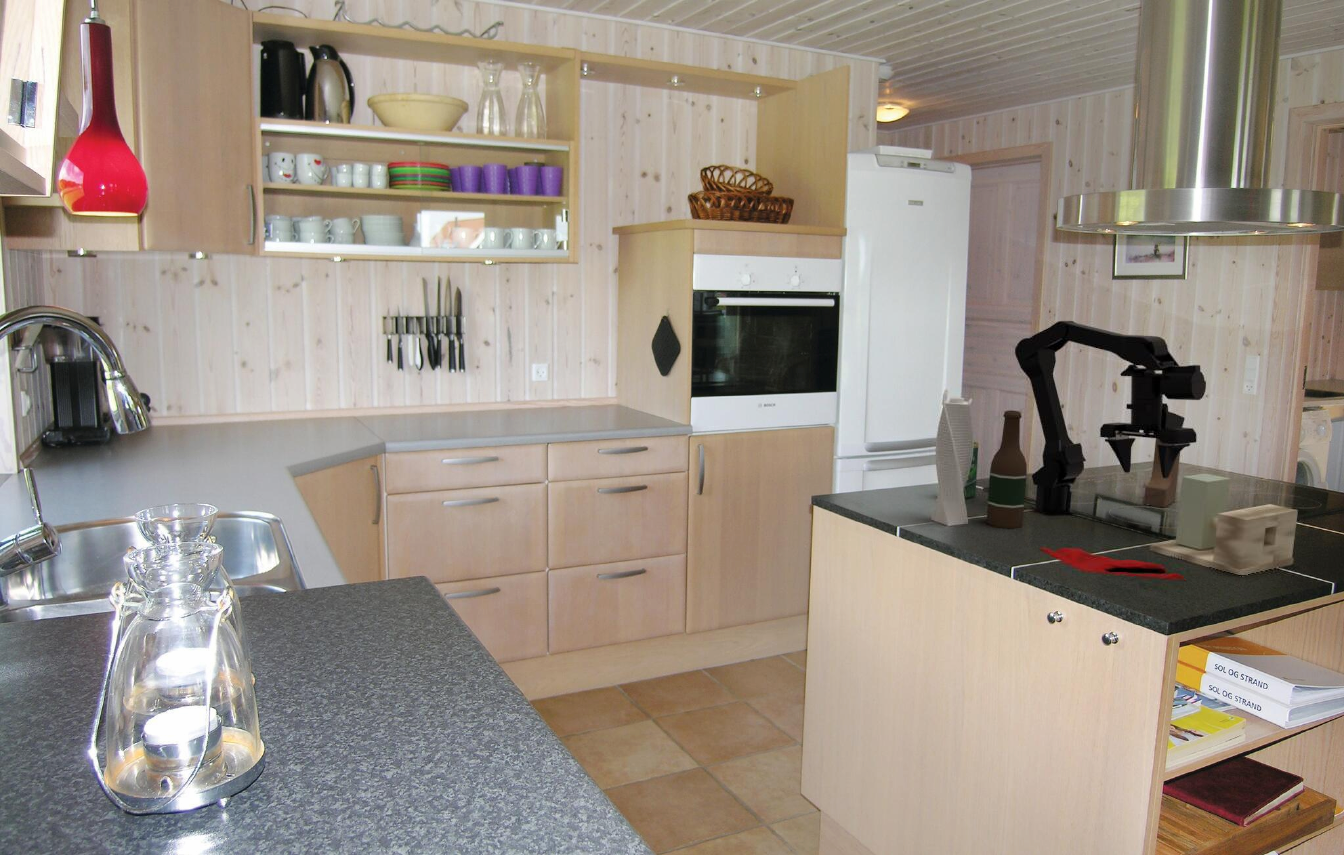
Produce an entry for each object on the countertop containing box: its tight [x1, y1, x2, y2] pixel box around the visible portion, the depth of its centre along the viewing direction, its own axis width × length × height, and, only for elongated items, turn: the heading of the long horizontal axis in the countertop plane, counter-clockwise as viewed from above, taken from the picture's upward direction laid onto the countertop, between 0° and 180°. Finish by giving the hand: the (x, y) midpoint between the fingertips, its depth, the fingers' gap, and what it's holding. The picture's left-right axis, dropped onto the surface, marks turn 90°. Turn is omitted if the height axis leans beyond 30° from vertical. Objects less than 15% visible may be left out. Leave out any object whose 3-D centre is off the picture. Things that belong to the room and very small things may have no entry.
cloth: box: [1039, 547, 1185, 580], centre depth 173 cm, size 26×14×2 cm, turn 34°
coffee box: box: [963, 441, 979, 500], centre depth 222 cm, size 8×3×13 cm, turn 122°
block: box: [1175, 473, 1231, 550], centre depth 180 cm, size 9×7×13 cm
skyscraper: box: [931, 388, 975, 527], centre depth 200 cm, size 8×8×28 cm
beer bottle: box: [986, 410, 1028, 529], centre depth 199 cm, size 8×8×24 cm
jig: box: [1149, 503, 1299, 576], centre depth 178 cm, size 18×16×10 cm
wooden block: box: [1143, 427, 1184, 509], centre depth 220 cm, size 9×4×18 cm, turn 138°
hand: (1146, 475), depth 194 cm, fingers open, 9 cm apart
